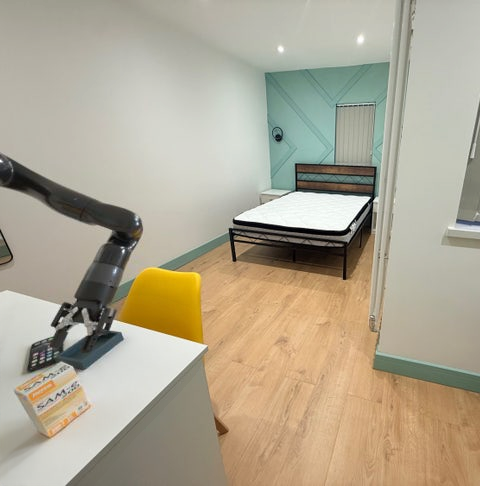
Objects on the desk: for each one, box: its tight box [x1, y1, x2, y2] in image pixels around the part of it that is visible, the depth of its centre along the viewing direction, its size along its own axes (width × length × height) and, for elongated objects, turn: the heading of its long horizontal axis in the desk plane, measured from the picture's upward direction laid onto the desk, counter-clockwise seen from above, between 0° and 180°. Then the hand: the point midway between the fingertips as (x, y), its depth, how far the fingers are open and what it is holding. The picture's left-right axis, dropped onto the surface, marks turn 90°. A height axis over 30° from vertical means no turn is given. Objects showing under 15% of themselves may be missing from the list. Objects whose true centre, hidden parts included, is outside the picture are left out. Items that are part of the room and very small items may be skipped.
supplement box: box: [13, 361, 92, 439], centre depth 59 cm, size 8×5×13 cm, turn 160°
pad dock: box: [54, 329, 125, 371], centre depth 80 cm, size 10×13×3 cm
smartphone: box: [26, 336, 64, 373], centre depth 80 cm, size 7×1×15 cm
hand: (69, 350), depth 61 cm, fingers open, 8 cm apart
